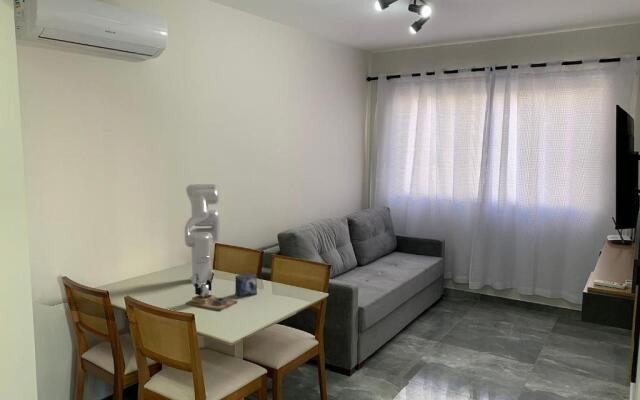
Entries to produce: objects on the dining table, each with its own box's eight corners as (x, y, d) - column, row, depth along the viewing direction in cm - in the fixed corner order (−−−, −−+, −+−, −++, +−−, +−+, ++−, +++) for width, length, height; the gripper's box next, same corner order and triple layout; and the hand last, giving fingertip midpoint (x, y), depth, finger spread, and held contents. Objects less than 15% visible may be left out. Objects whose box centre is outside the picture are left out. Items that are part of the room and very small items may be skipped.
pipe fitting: (203, 298, 255) (203, 283, 254) (210, 299, 253) (210, 284, 252) (196, 300, 250) (196, 285, 249) (204, 302, 248) (204, 287, 247)
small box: (238, 297, 260) (238, 278, 258) (235, 294, 265) (234, 275, 264) (257, 294, 265) (257, 276, 263) (253, 291, 270) (253, 273, 269)
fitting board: (203, 296, 260) (203, 291, 260) (237, 302, 251) (236, 297, 250) (185, 304, 248) (185, 298, 248) (220, 311, 238) (220, 305, 238)
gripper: (207, 254, 258) (208, 286, 260) (185, 262, 243) (186, 296, 245) (219, 256, 255) (219, 288, 257) (197, 263, 239) (198, 298, 242)
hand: (203, 292), depth 251 cm, fingers open, 7 cm apart
